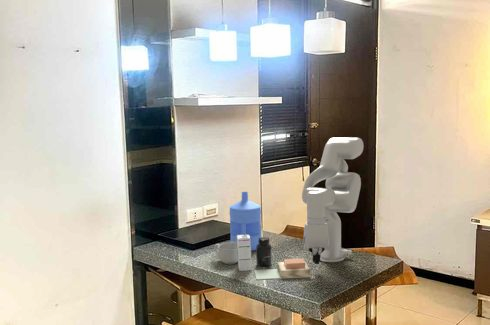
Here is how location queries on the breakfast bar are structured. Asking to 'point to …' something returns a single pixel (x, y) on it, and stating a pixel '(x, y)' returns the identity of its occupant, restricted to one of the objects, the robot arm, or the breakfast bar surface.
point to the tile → (294, 263)
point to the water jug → (246, 220)
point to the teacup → (227, 252)
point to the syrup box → (244, 252)
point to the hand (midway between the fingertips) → (316, 263)
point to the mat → (269, 274)
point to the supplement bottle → (263, 252)
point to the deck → (293, 271)
